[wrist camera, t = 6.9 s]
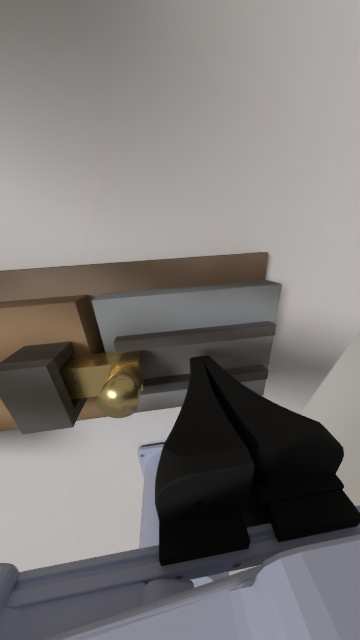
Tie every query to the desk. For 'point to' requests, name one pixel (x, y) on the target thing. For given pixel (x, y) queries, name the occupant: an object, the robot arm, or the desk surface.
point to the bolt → (106, 380)
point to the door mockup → (130, 329)
